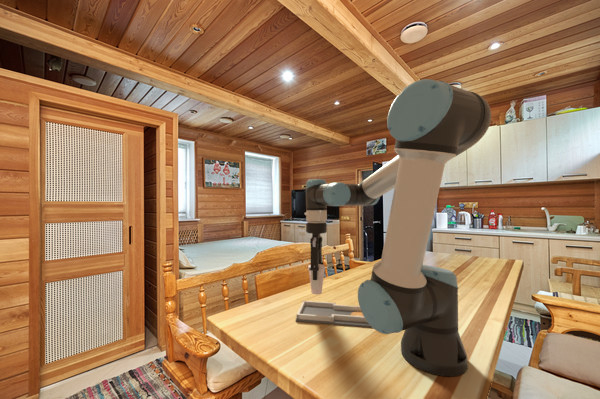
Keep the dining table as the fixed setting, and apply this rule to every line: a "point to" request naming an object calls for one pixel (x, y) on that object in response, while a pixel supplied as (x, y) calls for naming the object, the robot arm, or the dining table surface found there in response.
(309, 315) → the keyhole plate
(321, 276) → the smoothie
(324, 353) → the dining table surface
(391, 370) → the dining table surface
